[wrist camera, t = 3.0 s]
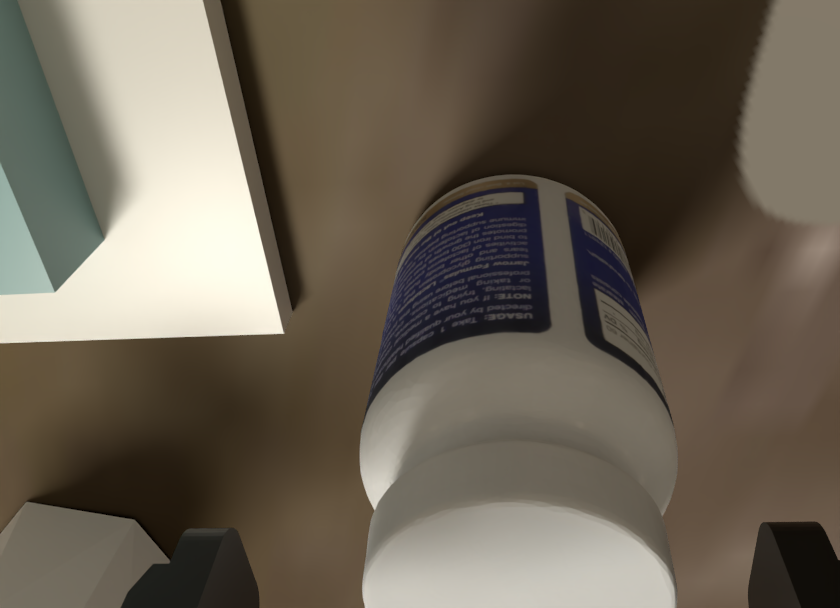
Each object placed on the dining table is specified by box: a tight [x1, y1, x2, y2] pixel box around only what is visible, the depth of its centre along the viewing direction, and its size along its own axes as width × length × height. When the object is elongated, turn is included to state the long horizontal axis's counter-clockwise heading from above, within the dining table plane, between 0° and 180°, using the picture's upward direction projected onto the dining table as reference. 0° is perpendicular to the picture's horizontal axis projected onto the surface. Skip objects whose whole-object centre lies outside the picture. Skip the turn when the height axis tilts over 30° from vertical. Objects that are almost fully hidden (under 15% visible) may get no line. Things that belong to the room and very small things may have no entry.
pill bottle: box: [360, 174, 678, 608], centre depth 15 cm, size 6×6×10 cm
